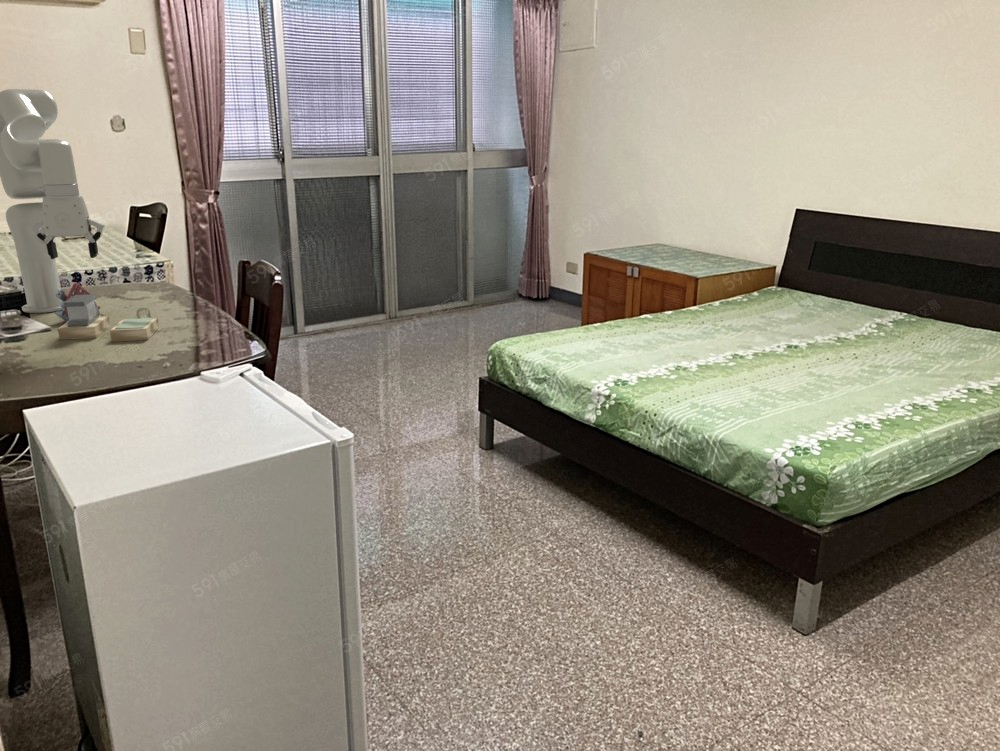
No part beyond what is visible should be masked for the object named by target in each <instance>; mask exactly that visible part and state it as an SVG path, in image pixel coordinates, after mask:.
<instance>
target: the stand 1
mask: <svg viewBox="0 0 1000 751" xmlns="http://www.w3.org/2000/svg"><path fill="white" fill-rule="evenodd" d="M68 322H69V321H68ZM110 327H111V324H110V318H109V315H102V316H101V315H100V316H99V318H98V319H97V320H95V321H94V322H93V323H92V324H90V325H89V326H78V327H68V324H67V322H65V323H64V324H63V325H61V326H59V327H58V328H57V333H58V338H59V340H63V341H64V340H83V339H84V340H85V339H97V338H98V337H100V335H102V334H103V333H104V332H105V331H106V330H108V329H109V328H110Z"/></svg>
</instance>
